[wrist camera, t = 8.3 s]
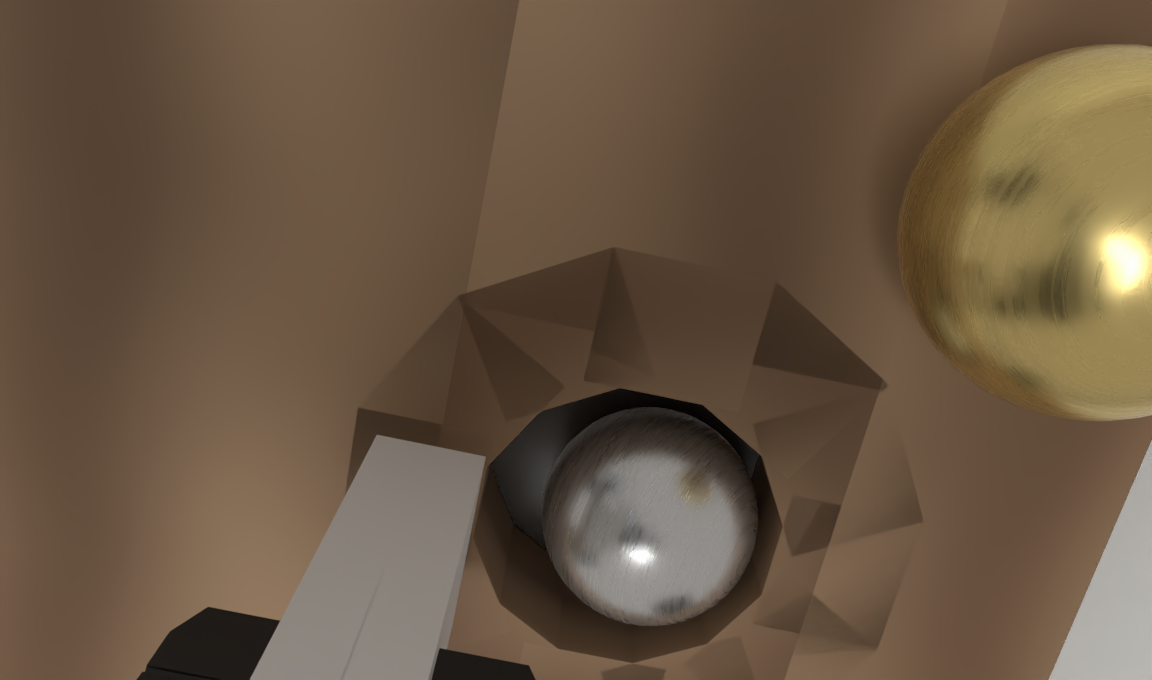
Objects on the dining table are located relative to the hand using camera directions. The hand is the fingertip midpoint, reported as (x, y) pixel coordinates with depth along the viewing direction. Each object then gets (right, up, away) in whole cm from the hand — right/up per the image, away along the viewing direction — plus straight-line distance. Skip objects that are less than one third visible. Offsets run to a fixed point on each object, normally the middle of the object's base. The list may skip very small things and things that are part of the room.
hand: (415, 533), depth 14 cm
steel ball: (+3, 0, +2) cm, 4 cm away
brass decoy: (+8, +4, -2) cm, 9 cm away
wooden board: (-1, +1, +4) cm, 4 cm away
